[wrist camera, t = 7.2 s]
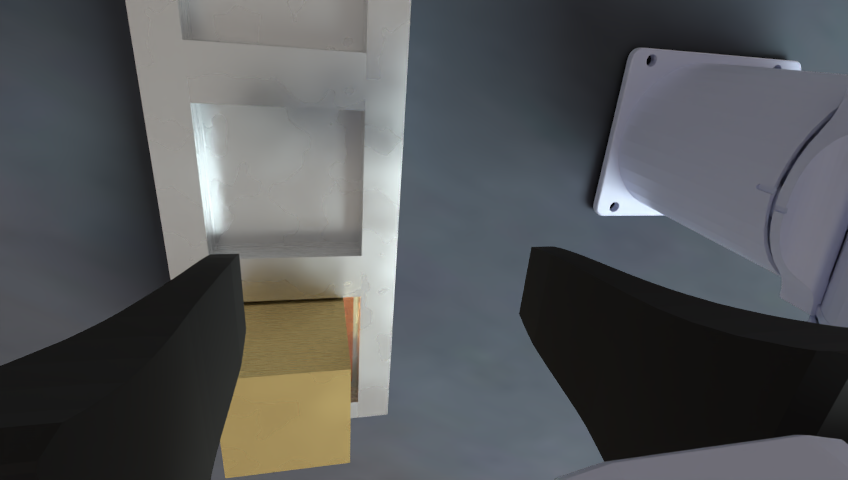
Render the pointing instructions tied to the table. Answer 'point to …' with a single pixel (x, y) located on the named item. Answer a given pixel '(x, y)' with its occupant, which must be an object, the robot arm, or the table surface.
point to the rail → (283, 151)
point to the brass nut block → (290, 389)
